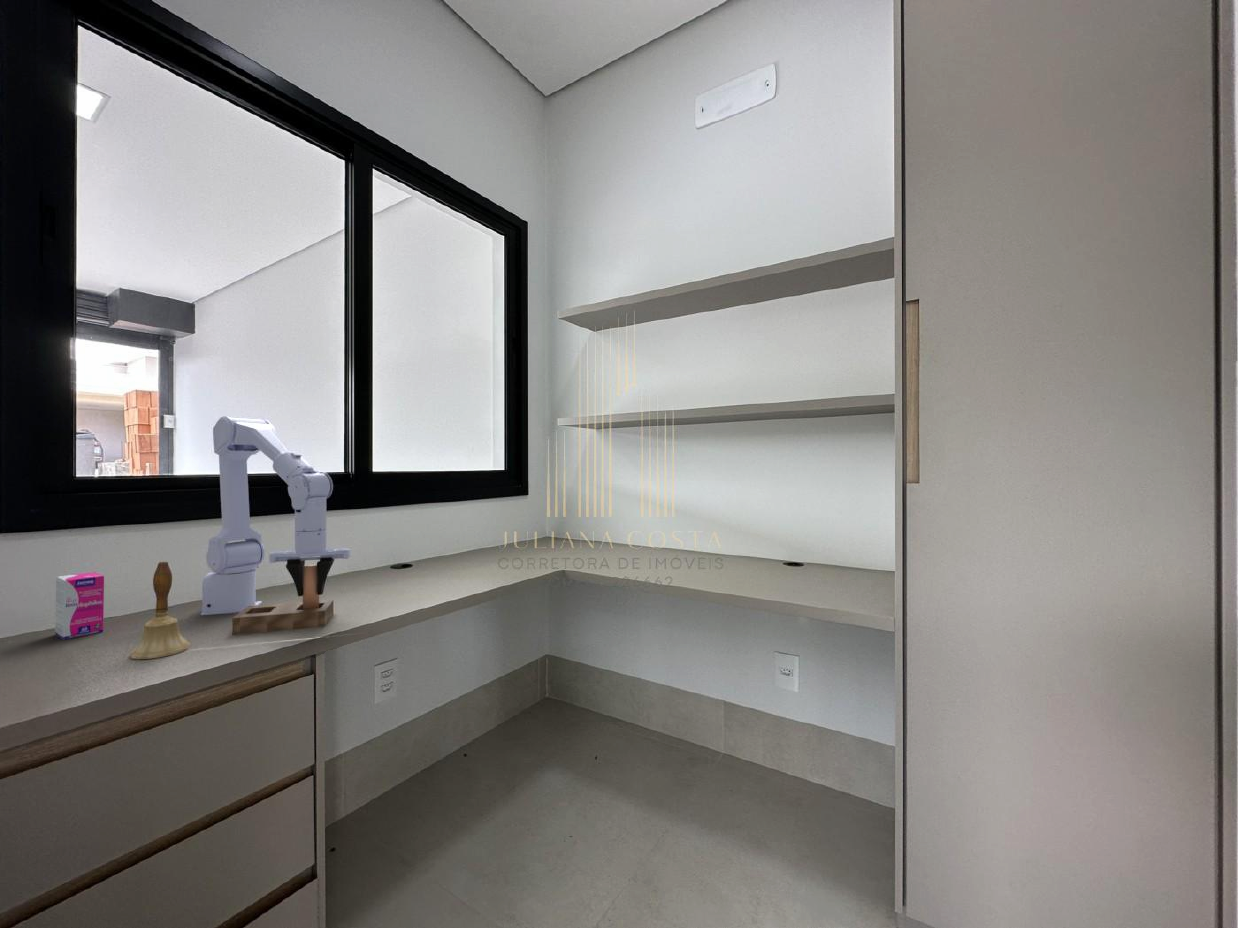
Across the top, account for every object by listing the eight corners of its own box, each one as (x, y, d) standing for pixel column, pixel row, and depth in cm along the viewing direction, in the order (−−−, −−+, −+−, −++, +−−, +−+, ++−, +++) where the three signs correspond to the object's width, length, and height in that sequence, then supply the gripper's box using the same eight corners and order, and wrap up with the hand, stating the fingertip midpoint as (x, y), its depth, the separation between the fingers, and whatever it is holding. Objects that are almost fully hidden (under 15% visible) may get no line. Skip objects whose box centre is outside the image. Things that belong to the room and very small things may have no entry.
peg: (301, 610, 108) (301, 567, 108) (303, 607, 111) (304, 565, 111) (318, 609, 109) (318, 566, 109) (320, 605, 112) (320, 563, 112)
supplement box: (62, 640, 99) (62, 580, 99) (54, 634, 102) (54, 576, 102) (104, 632, 104) (104, 574, 104) (95, 627, 107) (95, 571, 107)
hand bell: (166, 641, 98) (166, 557, 98) (202, 644, 96) (202, 559, 96) (116, 658, 90) (116, 565, 90) (155, 661, 88) (155, 567, 88)
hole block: (232, 635, 101) (232, 617, 101) (248, 622, 110) (248, 605, 110) (325, 627, 107) (325, 610, 107) (333, 615, 115) (333, 599, 115)
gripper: (264, 533, 103) (264, 602, 103) (345, 530, 108) (345, 596, 108) (275, 529, 110) (275, 593, 110) (351, 526, 115) (351, 588, 115)
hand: (310, 594), depth 110 cm, fingers closed on peg, 3 cm apart
